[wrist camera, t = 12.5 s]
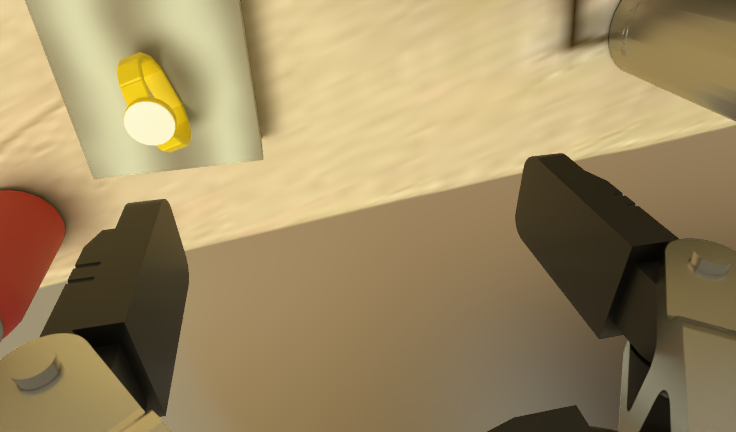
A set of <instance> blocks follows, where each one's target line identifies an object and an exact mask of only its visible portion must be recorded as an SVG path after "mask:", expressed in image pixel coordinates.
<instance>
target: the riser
mask: <svg viewBox="0 0 736 432" xmlns="http://www.w3.org/2000/svg"><path fill="white" fill-rule="evenodd" d="M25 2H26V4H27V7H28V10H29V12H30V15H31V17H32V20H33V23H34V25H35V28H36V30H37V33H38V36H39V38H40V41H41V43H42V46H43V49H44V51H45V54H46V56H47V59H48V62H49V64H50V67H51V69H52V72H53V74H54V77H55V80H56V82H57V85H58V87H59V90H60V93H61V95H62V98H63V100H64V103H65V106H66V108H67V111H68V113H69V116H70V119H71V121H72V124H73V126H74V129H75V132H76V134H77V137H78V139H79V142H80V144H81V147H82V150H83V152H84V155H85V157H86V160H87V163H88V165H89V168H90V170H91V173H92V176H93V178H94V179H101V178H110V177H119V176H127V175H136V174H145V173H154V172H162V171H171V170H180V169H188V168H197V167H206V166H215V165H223V164H232V163H241V162H250V161H258V160H263V150H262V139H261V133H260V126H259V120H258V113H257V107H256V100H255V94H254V87H253V81H252V74H251V68H250V61H249V55H248V48H247V42H246V35H245V29H244V22H243V16H242V9H241V3H240V0H25ZM139 52H142V53H144V54H147V55H150V56H151V57H152V58H153V59H154V60H155V61H156V62H157V63H158V64H159V66H160V67H161V69H162V70H163V72H164V74H165V76H166V77H167V79H168V81H169V82H170V84H171V86H172V88H173V89H174V91H175V93H176V94H177V96H178V98H179V100H180V101H181V102H182V103H183V104H182V105H183V106H184V109H185V111H186V114H187V117H188V120H189V123H190V128H191V134H192V138H191V141H190V143H189V145H188V146H186V147H183V148H181V149H178V150H175V151H173V152H166V151H162V150H160V149H159V148H158V147H157V146H155V145H146V144H142V143H140V142H138V141H136V140H135V139H133V138H132V137H131V136H130V135H129V134H128V132H127V130H126V128H125V126H124V120H123V117H124V114H125V111H126V108H127V107H128V106H127V104H126V101H125V99H124V97H123V94H122V92H121V90H120V87H119V82H118V76H117V66H118V64H119V62H120V60H121V59H124V58H126V57H129V56H132V55H134V54H137V53H139ZM147 87H148V86H147ZM148 90H149V88H148ZM149 92H150V95H151V97H154V96H153V95H152V93H151V91H150V90H149Z"/></svg>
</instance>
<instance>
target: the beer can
mask: <svg viewBox="0 0 736 432" xmlns="http://www.w3.org/2000/svg"><path fill="white" fill-rule="evenodd" d="M64 236H65V226H64V222H63V220H62V218H61V216H60V214H59V212H58V211H57V210H56V209H55V208H54V207H53V206H52V205H50V204H49V203H48V202H46V201H45V200H43V199H41V198H39V197H38V196H36V195H32V194H29V193H26V192H23V191H13V190H3V191H0V342H1V340H2V339H3V338H5V337H6V336H7V335H8V334H9V333H10V332H11V331H12V330H13V329H14V328H15V327H16V326H17V325H18V324H19V323H20V322H21V321H22V319H23V317H24V315H25V313H26V311H27V309H28V308H29V306H30V304H31V302H32V299H33V298H34V296H35V294H36V292H37V290H38V288H39V286H40V284H41V282H42V281H43V279H44V277H45V275H46V273H47V271H48V269H49V267H50V265H51V263H52V261H53V259H54V257H55V256H56V254H57V252H58V250H59V248H60V246H61V244H62V242H63V239H64Z"/></svg>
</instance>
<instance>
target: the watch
mask: <svg viewBox="0 0 736 432" xmlns="http://www.w3.org/2000/svg"><path fill="white" fill-rule="evenodd" d="M117 76H118V82H119V87H120V90H121V92H122V94H123V97H124V99H125V101H126V104H127V106H128V107H127V108H126V111H125V114H124V117H123V120H124V126H125V128H126V130H127V132H128V134H129V135H130V136H131V137H132V138H133V139H135V140H136V141H138V142H140V143H142V144H146V145H155V146H157V147H158V148H159V149H160V150H162V151H166V152H173V151H175V150H178V149H181V148H183V147H186V146H188V145H189V143H190V141H191V138H192V134H191V128H190V123H189V120H188V117H187V114H186V111H185V109H184V106H183V105H182V104H183V103H182V102H181V101H180V100H179V98H178V96H177V94H176V93H175V91H174V89H173V88H172V86H171V84H170V82H169V81H168V79H167V77H166V76H165V74H164V72H163V70H162V69H161V67H160V66H159V64H158V63H157V62H156V61H155V60H154V59H153V58H152V57H151V56H150V55H147V54H144V53H142V52H139V53H137V54H134V55H132V56H129V57H126V58H124V59H121V60H120V62H119V64H118V66H117ZM147 86H148V87H147ZM148 88H149V90H150V91H151V93H152V95H153V96H154V97H151V95H150V92H149V90H148Z"/></svg>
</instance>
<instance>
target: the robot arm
mask: <svg viewBox="0 0 736 432" xmlns="http://www.w3.org/2000/svg"><path fill="white" fill-rule="evenodd" d="M609 49H610V53H611V57H612V59H613V60H614V62H615V64H616V65H617V66H618V67H619V68H620V69H621V70H623V71H625V72H627V73H629V74H631V75H634V76H636V77H638V78H640V79H642V80H645V81H647V82H649V83H651V84H653V85H655V86H657V87H660V88H662V89H664V90H666V91H669V92H671V93H673V94H675V95H678V96H680V97H682V98H684V99H687V100H689V101H691V102H693V103H696V104H698V105H700V106H702V107H705V108H707V109H709V110H711V111H714V112H716V113H718V114H720V115H723V116H725V117H727V118H729V119H732V120H734V121H736V0H622V1H621V2H620V4H619V6H618V8H617V10H616V12H615V14H614V17H613V20H612V23H611V27H610V33H609ZM515 219H516V227H517V231H518V234H519V236H520V238H521V239H522V241H523V242H524V243H525V244H526V246H527V247H528V248H529V249H530V251H531V252H532V253H533V255H534V256H535V257H536V258H537V260H538V261H539V262H540V264H541V265H542V266H543V268H544V269H545V270H546V271H547V273H548V274H549V275H550V277H551V278H552V279H553V280H554V282H555V283H556V284H557V286H558V287H559V288H560V289H561V291H562V292H563V293H564V294H565V296H566V297H567V298H568V300H569V301H570V302H571V303H572V305H573V306H574V307H575V309H576V310H577V311H578V312H579V314H580V315H581V316H582V318H583V319H584V320H585V321H586V323H587V324H588V325H589V327H590V328H591V329H592V331H593V332H594V333H595V334H596V336H597V337H598V338H599V339H603V338H608V337H614V336H619V335H624V336H625V337H626V338H627V339H628V342H627V345H626V347H625V349H624V353H623V369H622V383H621V399H620V415H619V426H618V431H615V430H611V429H606V428H599V427H593V426H589V425H588V423H587V422H586V420H585V419H584V417H583V416H582V414H581V412H580V411H579V409H578V408H577V406H576V405H574V406H569V407H564V408H559V409H554V410H549V411H545V412H540V413H534V414H529V415H525V416H520V417H515V418H512V419H511V420H509V421H507V422H505V423H503V424H501V425H499V426H497V427H495V428H493V429H491V430H490V431H488V432H736V251H735V250H733V249H731V248H729V247H726V246H724V245H721V244H718V243H715V242H712V241H708V240H702V239H693V238H685V239H678V238H677V237H676V236H675V235H674V234H672V233H671V232H670V231H669V230H667V229H666V228H665V227H664V226H663V225H661V224H660V223H658V221H656V220H655V219H654V218H653V217H651V216H650V215H649V214H648V213H646V212H645V211H644V210H643V209H641V208H640V207H639V206H635V203H634V202H633V201H631V200H630V199H629V198H628V197H627V196H623V195H622V192H620V191H619V190H618V189H616V188H615V187H614V186H613V185H612V184H610V183H609V182H608V181H606V180H604V179H602V178H600V177H597V176H595V175H593V174H591V173H589V172H587V171H584V170H583V169H582V168H581V167H580V166H578V165H577V164H576V163H575V162H574V161H572V160H571V159H570V158H569V157H568V156H566V155H565V154H563V153H558V154H549V155H541V156H532V157H529V158H528V159H527V160H526V162H525V165H524V169H523V175H522V181H521V186H520V191H519V197H518V203H517V209H516V215H515ZM75 267H76V268H75V269H73V270H72V272H71V274H70V276H69V278H68V284H66V285H65V287H64V289H63V291H62V293H61V295H60V297H59V299H58V301H57V303H56V305H55V307H54V309H53V311H52V313H51V315H50V317H49V319H48V321H47V323H46V325H45V327H44V329H43V331H42V333H41V335H40V337H39V338H37V339H35V340H32V341H29V342H27V343H25V344H23V345H21V346H19V347H18V348H16V349H14V350H13V351H11V352H10V353H9V354H7V355H6V356H4V357H3V358H2V359H1V360H0V432H172V431H171V430H170V429H169V428H168V427H167V425H166V424H165V423H164V422H163V421H162V420H161V418H160V417H161V416H166V410H167V405H168V399H169V393H170V388H171V382H172V376H173V371H174V364H175V359H176V353H177V348H178V342H179V336H180V331H181V325H182V319H183V313H184V307H185V302H186V297H187V291H188V285H189V272H188V264H187V259H186V255H185V252H184V249H183V245H182V242H181V239H180V236H179V232H178V229H177V226H176V222H175V219H174V216H173V213H172V209H171V207H170V204H169V202H168V201H167V200H166V199H160V200H151V201H143V202H134V203H128V204H126V205H125V207H124V210H123V212H122V214H121V217H120V219H119V221H118V224H117V226H116V228H115V229H109V230H102V231H101V232H100V233H99V234H98V235H97V236H96V237H95V238H94V239H92V240H91V241H90V242H89V243H88V244H87V245H86V246H85V247H84V248H83V250H82V252H81V254H80V256H79V258H78V260H77V262H76V264H75Z"/></svg>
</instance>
